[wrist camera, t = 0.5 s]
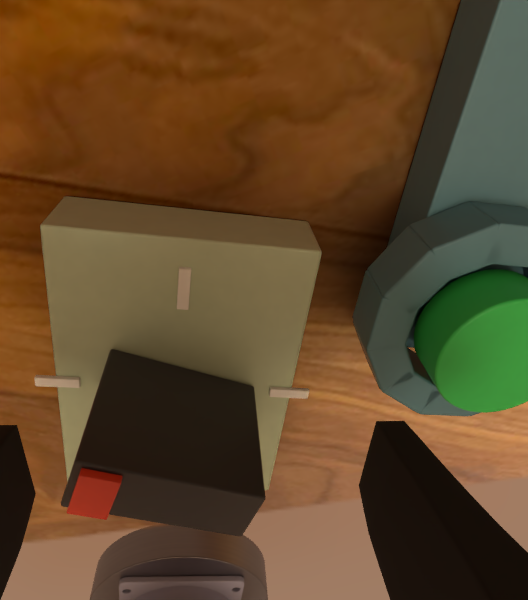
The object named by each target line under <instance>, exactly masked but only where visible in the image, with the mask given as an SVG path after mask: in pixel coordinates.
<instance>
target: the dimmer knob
mask: <svg viewBox="0 0 528 600" xmlns="http://www.w3.org/2000/svg"><path fill="white" fill-rule="evenodd" d="M264 500H265V489H264V479H263V469H262V459H261V450H260V440H259V430H258V420H257V411H256V401H255V391H254V387H253V386H251V385H247V384H243V383H239V382H235V381H232V380H228V379H224V378H220V377H217V376H213V375H209V374H205V373H202V372H198V371H194V370H190V369H186V368H183V367H179V366H175V365H171V364H168V363H164V362H160V361H156V360H152V359H149V358H145V357H141V356H137V355H134V354H130V353H126V352H122V351H119V350H115V349H111V350H110V352H109V355H108V358H107V361H106V364H105V367H104V370H103V373H102V377H101V380H100V383H99V386H98V389H97V392H96V395H95V398H94V401H93V404H92V408H91V411H90V414H89V417H88V420H87V423H86V426H85V429H84V432H83V436H82V439H81V442H80V445H79V448H78V451H77V454H76V457H75V461H74V464H73V467H72V470H71V473H70V476H69V479H68V482H67V485H66V489H65V492H64V495H63V498H62V501H61V506H63V507H68V509H67V513H68V514H74V515H80V516H86V517H92V518H98V519H104V520H106V519H107V517H108V515H109V514H110V515H116V516H122V517H128V518H134V519H140V520H146V521H152V522H158V523H164V524H170V525H176V526H182V527H188V528H193V529H199V530H205V531H211V532H217V533H223V534H229V535H235V536H242V535H243V533H244V532H245V530H246V528H247V527H248V525H249V524H250V522H251V520H252V519H253V517H254V516H255V514H256V513H257V511H258V510H259V508H260V507H261V505H262V503H263V502H264Z"/></svg>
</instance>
